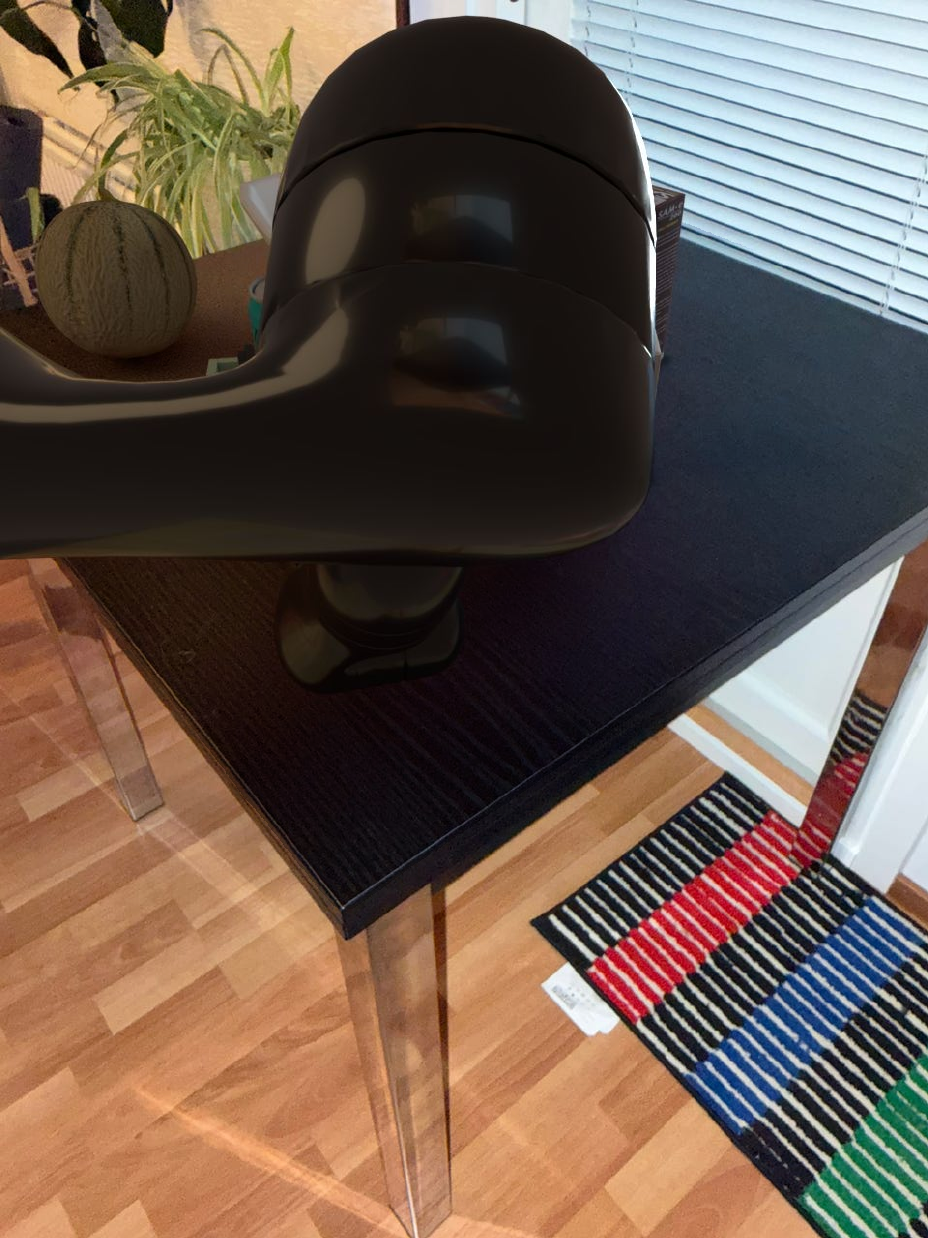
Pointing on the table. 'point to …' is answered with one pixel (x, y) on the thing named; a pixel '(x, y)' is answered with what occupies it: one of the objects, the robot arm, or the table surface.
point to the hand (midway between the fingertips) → (290, 348)
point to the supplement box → (666, 253)
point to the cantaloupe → (115, 278)
